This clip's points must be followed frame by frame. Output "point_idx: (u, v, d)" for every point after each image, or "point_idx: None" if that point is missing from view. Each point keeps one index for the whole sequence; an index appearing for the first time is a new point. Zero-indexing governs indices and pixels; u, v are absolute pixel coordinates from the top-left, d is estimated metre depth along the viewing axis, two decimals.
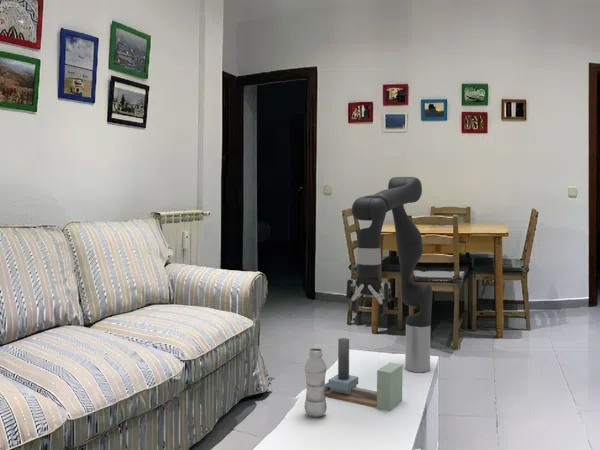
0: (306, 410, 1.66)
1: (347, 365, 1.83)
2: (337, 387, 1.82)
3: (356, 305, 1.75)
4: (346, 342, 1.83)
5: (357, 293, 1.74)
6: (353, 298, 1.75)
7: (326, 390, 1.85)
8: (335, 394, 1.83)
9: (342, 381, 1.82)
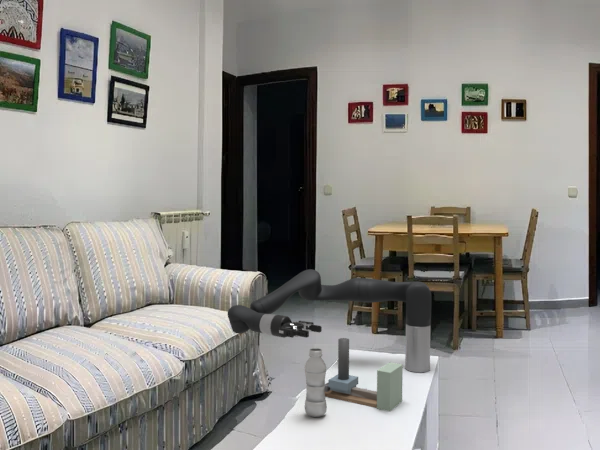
0: (306, 410, 1.66)
1: (347, 365, 1.83)
2: (337, 387, 1.82)
3: (314, 329, 1.94)
4: (346, 342, 1.83)
5: None
6: (310, 330, 1.96)
7: (326, 390, 1.85)
8: (335, 394, 1.83)
9: (342, 381, 1.82)
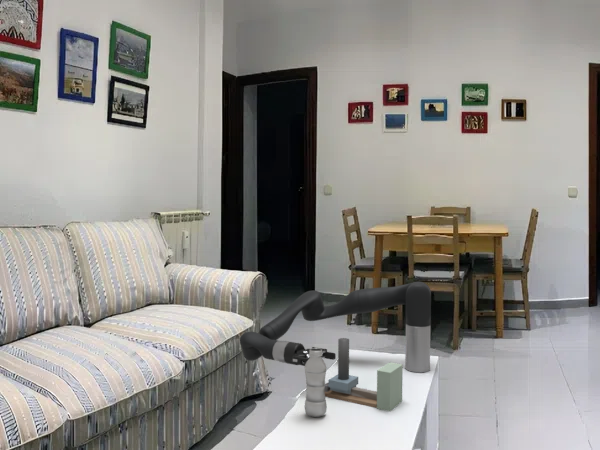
0: (306, 410, 1.66)
1: (347, 365, 1.83)
2: (337, 387, 1.82)
3: (328, 357, 1.92)
4: (346, 342, 1.83)
5: None
6: None
7: (326, 390, 1.85)
8: (335, 394, 1.83)
9: (342, 381, 1.82)
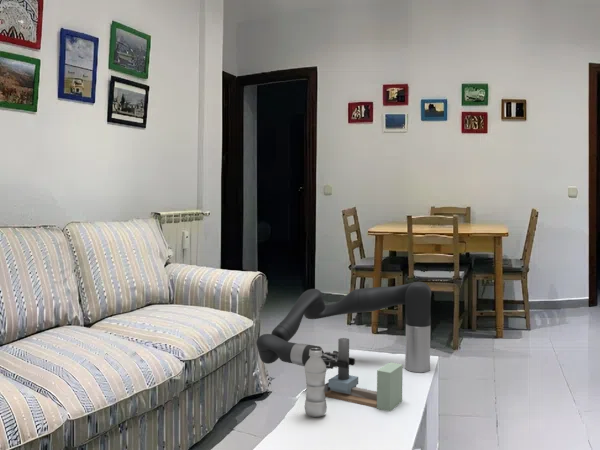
0: (306, 410, 1.66)
1: None
2: (337, 387, 1.82)
3: None
4: (346, 342, 1.83)
5: None
6: None
7: (326, 390, 1.85)
8: (335, 394, 1.83)
9: (342, 381, 1.82)
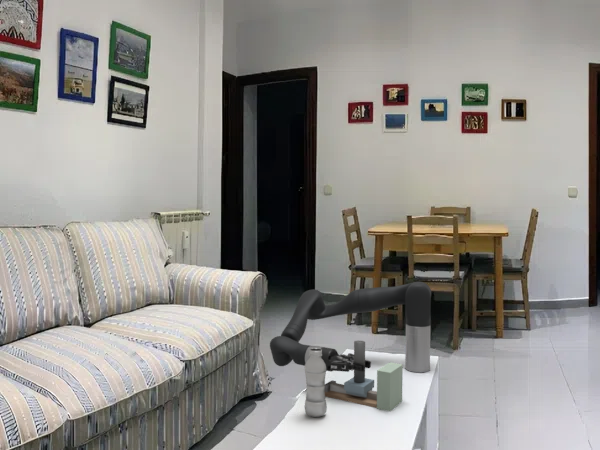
0: (306, 410, 1.66)
1: None
2: (353, 390, 1.79)
3: None
4: (362, 345, 1.80)
5: None
6: None
7: (326, 390, 1.85)
8: (335, 394, 1.83)
9: (358, 384, 1.79)
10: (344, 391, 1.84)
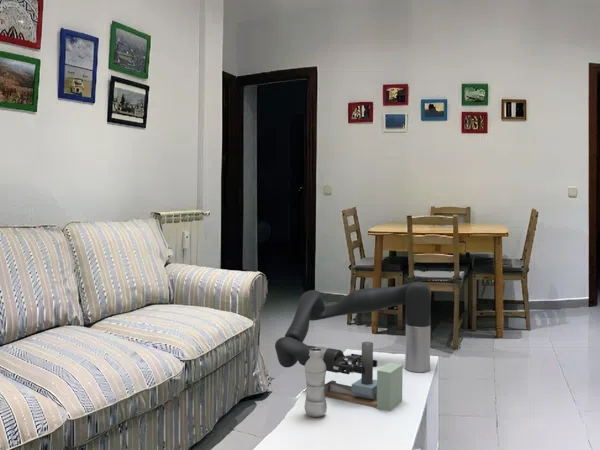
0: (306, 410, 1.66)
1: (371, 369, 1.79)
2: (361, 392, 1.77)
3: None
4: (370, 346, 1.78)
5: None
6: None
7: (326, 390, 1.85)
8: (335, 394, 1.83)
9: (366, 386, 1.77)
10: (344, 391, 1.84)
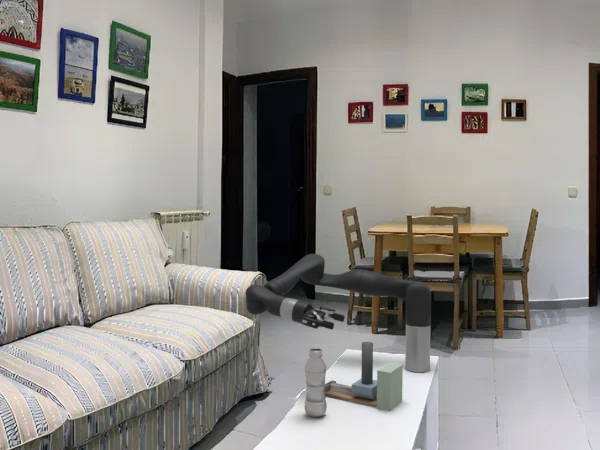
0: (306, 410, 1.66)
1: (371, 369, 1.79)
2: (361, 392, 1.77)
3: (337, 318, 1.89)
4: (370, 346, 1.78)
5: None
6: None
7: (326, 390, 1.85)
8: (335, 394, 1.83)
9: (366, 386, 1.77)
10: (344, 391, 1.84)
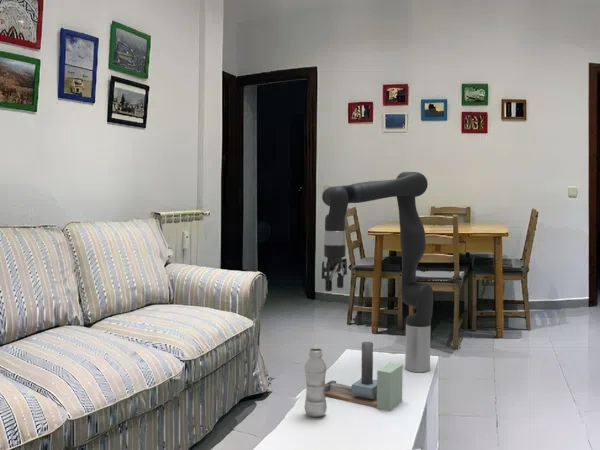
0: (306, 410, 1.66)
1: (371, 369, 1.79)
2: (361, 392, 1.77)
3: (338, 281, 2.00)
4: (370, 346, 1.78)
5: None
6: None
7: (326, 390, 1.85)
8: (335, 394, 1.83)
9: (366, 386, 1.77)
10: (344, 391, 1.84)
